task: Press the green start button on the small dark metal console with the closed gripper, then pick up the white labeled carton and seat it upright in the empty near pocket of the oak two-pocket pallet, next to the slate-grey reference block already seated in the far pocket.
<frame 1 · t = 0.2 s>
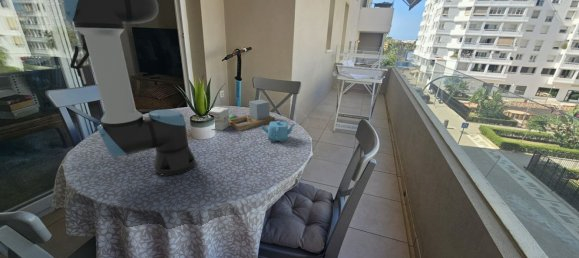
hand: (103, 82, 113), 28 cm above the table, fingers open, 13 cm apart
white labeled carton: (219, 129, 137), on the table
teapot: (278, 139, 126), on the table
console: (231, 121, 149), on the table
start button: (231, 117, 148), point 2 cm above the table, slide at 1.2 cm
reference block: (259, 120, 148), point 1 cm above the table, touching pallet
pallet: (251, 124, 145), on the table
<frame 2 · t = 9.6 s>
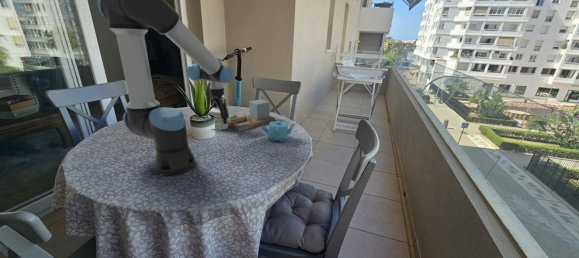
hand: (219, 125, 137), 2 cm above the table, fingers closed on white labeled carton, 11 cm apart
white labeled carton: (219, 129, 137), on the table, touching gripper
everything else where it was.
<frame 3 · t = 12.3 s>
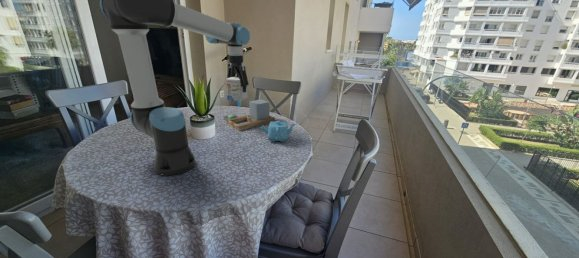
hand: (238, 95, 134), 18 cm above the table, fingers closed on white labeled carton, 11 cm apart
white labeled carton: (237, 99, 134), point 17 cm above the table, touching gripper
everything else where it was.
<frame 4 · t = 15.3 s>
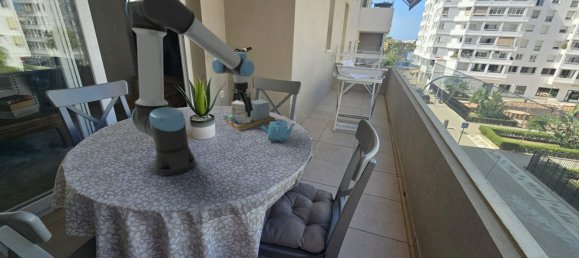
hand: (242, 119, 140), 4 cm above the table, fingers closed on white labeled carton, 11 cm apart
white labeled carton: (242, 121, 140), point 3 cm above the table, touching gripper, pallet
everything else where it was.
when the fingers open (4 cm above the table, at t = 15.7 s): white labeled carton stays where it is, resting on pallet.
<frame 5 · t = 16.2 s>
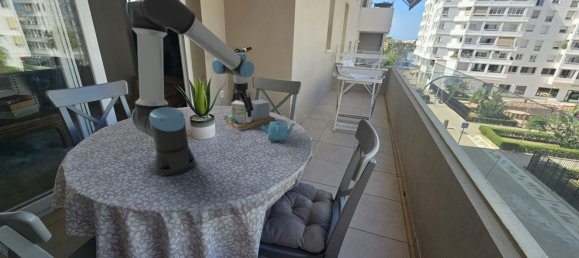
hand: (242, 118, 140), 5 cm above the table, fingers open, 13 cm apart
white labeled carton: (242, 121, 140), point 3 cm above the table, touching pallet
everything else where it was.
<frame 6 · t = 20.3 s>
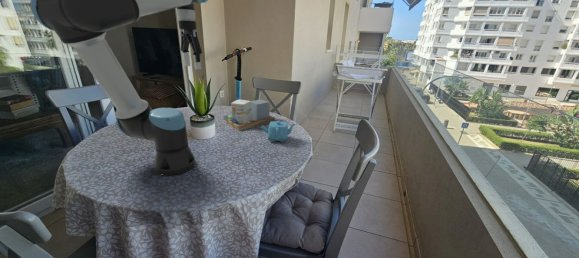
hand: (192, 67, 118), 35 cm above the table, fingers open, 13 cm apart
nothing on the table moved.
at the end: white labeled carton 0.4 cm from the target spot on the pallet, point 3.3 cm above the pallet's base; white labeled carton tilted 0°; the gripper is holding nothing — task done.
